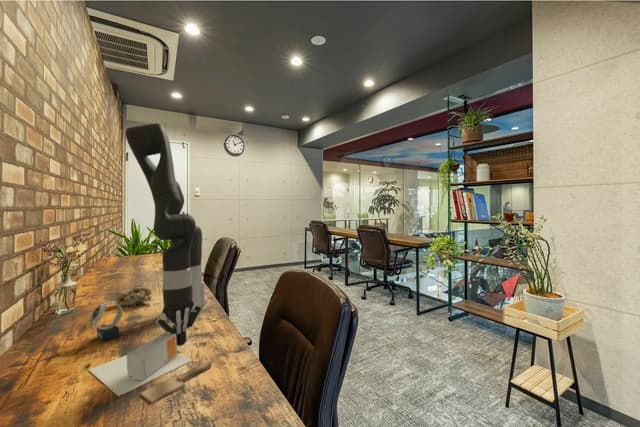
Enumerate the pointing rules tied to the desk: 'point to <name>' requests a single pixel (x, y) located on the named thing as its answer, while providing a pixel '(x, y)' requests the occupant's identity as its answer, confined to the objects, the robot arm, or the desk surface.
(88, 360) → the desk surface
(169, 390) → the wooden turner
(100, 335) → the watch
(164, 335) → the skincare box
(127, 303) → the mineral formation
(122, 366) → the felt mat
